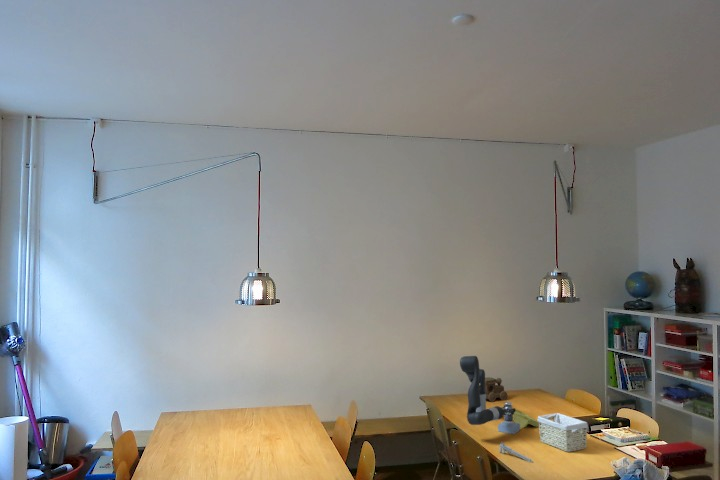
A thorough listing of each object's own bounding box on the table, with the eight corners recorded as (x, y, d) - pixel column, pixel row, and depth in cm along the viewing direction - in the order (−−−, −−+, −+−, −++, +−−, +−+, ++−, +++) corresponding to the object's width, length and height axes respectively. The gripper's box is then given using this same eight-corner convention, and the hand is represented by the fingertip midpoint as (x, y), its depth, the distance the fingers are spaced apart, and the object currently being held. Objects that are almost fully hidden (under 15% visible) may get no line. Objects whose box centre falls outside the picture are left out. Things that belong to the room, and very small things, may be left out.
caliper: (499, 453, 291) (499, 441, 291) (500, 453, 292) (500, 441, 292) (532, 463, 275) (531, 450, 276) (533, 462, 276) (532, 450, 276)
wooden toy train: (487, 402, 401) (486, 380, 402) (478, 399, 411) (477, 378, 412) (509, 399, 408) (508, 378, 409) (500, 396, 419) (499, 375, 420)
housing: (503, 420, 330) (502, 402, 331) (506, 418, 334) (505, 401, 335) (511, 422, 327) (510, 403, 328) (514, 420, 331) (513, 402, 332)
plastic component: (541, 423, 336) (528, 417, 334) (536, 434, 335) (523, 428, 334) (525, 413, 355) (512, 407, 354) (520, 423, 355) (508, 418, 353)
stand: (498, 431, 329) (498, 424, 330) (504, 427, 337) (504, 421, 338) (514, 434, 324) (513, 427, 324) (519, 429, 332) (519, 423, 332)
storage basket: (537, 441, 309) (535, 415, 310) (559, 437, 315) (557, 412, 316) (567, 453, 287) (565, 426, 288) (590, 449, 293) (588, 422, 294)
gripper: (503, 409, 317) (520, 404, 327) (484, 405, 328) (501, 401, 339) (503, 422, 316) (520, 417, 327) (484, 417, 328) (501, 413, 338)
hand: (510, 409), depth 333 cm, fingers closed on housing, 5 cm apart
